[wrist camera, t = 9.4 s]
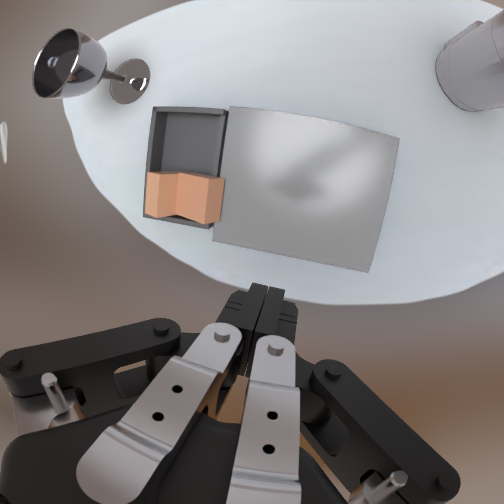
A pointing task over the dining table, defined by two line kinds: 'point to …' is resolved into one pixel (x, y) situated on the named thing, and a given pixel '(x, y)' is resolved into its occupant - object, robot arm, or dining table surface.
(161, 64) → the dining table surface
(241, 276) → the dining table surface
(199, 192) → the tile front
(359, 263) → the slate ledge
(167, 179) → the tile rear
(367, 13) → the dining table surface
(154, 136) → the tray
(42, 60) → the wine glass
